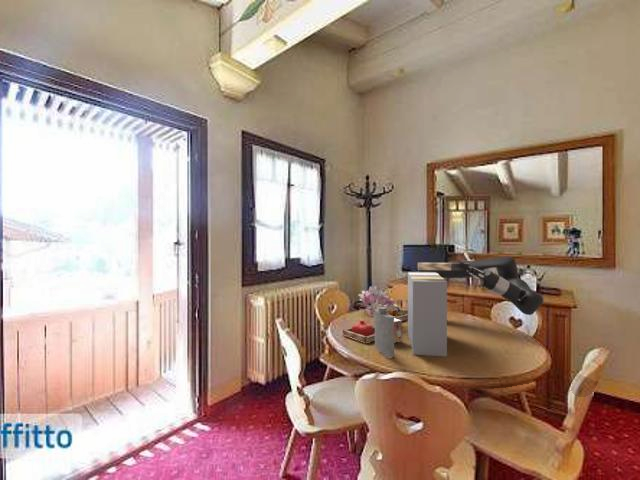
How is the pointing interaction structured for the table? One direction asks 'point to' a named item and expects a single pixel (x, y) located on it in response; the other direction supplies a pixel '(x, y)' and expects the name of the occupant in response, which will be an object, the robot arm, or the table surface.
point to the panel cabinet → (427, 313)
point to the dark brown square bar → (440, 266)
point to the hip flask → (384, 332)
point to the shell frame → (402, 317)
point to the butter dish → (363, 329)
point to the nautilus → (393, 311)
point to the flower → (380, 298)
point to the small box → (397, 330)
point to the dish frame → (359, 337)
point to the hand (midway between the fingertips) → (458, 263)
